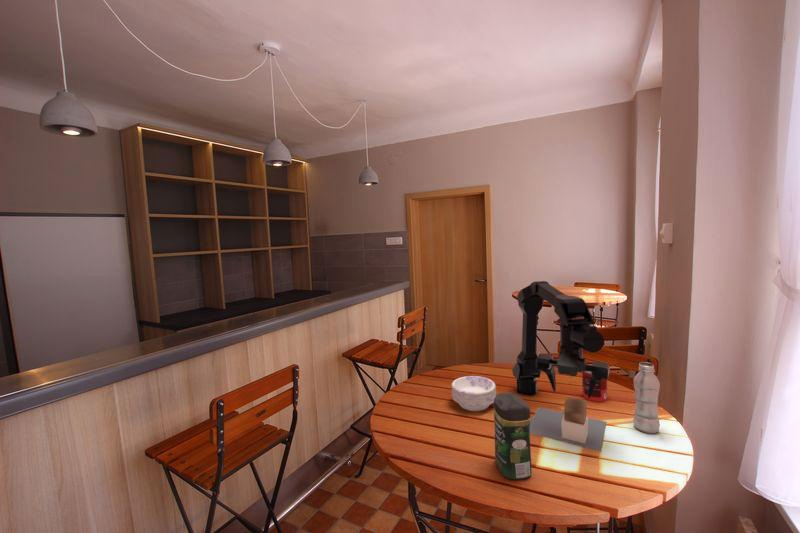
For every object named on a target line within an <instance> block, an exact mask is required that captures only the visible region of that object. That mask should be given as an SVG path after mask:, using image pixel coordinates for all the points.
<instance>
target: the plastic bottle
mask: <svg viewBox="0 0 800 533" xmlns="http://www.w3.org/2000/svg"><path fill="white" fill-rule="evenodd" d="M638 364H639V365H638V372H637V373H636V374H635V376H634V377H633V387H634V393H635V394H634V395H635V406H634V413H633V417H632V418H633V419H632V422H633V426H634V428H636V429H637V430H638V431H640V432H642V433H645V434H651V435H654V434H657V433H658V432H659V430H660V427H661V423H660V418H659V412H658V403H659V400H658V399H659V394H660V387H661V384H660V383H661V382H660V381H659V379H658V378H657V376H656V375H655V374H654V373H655V365H654V364H652V363H650V362H639V363H638Z"/></svg>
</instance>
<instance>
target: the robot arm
mask: <svg viewBox="0 0 800 533" xmlns="http://www.w3.org/2000/svg"><path fill="white" fill-rule="evenodd" d="M516 299H517V303H518V304H517V305H518V307H519V309H520V311H521V312H522V331H521V332H522V336H521V337H522V338H521V351H520V352H519V353H518V355H517V357H516V362H515V364H514V366H513V368H512V370H511V371H512V376H513V377H514V378H516V391H515V393H517V394H520V395H525V396H529V397H534V396H535V395H536V394H537V393H538V381H537V379H540V378H541V374H542V372H543V373H544V374H545V375H546V376H547V378H548V380H549V383H550V385H551V389H552V391H553V392H556V391H557V390H556V389H557V388H556V387H557V379H556V368H555V367H557V373H558V374H559V375H567V376H570V377H576V376H577V375H578V373H582V372H585V371H589V372H591V377H590V385H589V392H588V398H590V397H591V394H592V391H593V389H594V386H595V385H596V383H597V382H598V381H602V380H603V379H607V380H608V379H609V376H610V368H611V367H610V365H609V363H608V362H602V361H596V360H593V362H592V364H589V363H587V362H586V358H584V357H583V350H584V351H587V352H589V353H593V354H595V353H597V352H600V350H602V349H603V347H604V344H605V338H604V336H603V335H602V333H600V332H599V331H598V330H597V329H598V328H597V326H596V325H594V324H595V322H594V319H593V318H594V317H593V315H592V314H591V312H590V310H589V308H588V305H587V303H586V301H585V300H584V299H583V298H581V297H578V296H574V295H568V294H566V293H564V292H562V291H560V290H559V289H557V288H555V287H554V286H552V285H551V284H550V282H548V281H546V280H541V281H540V280H537V281H533V282H531V283H530V284H529V285H527V286H526V287H523V288H522V289H521V290H520V291H519V292H518V293H517V297H516ZM544 301H546V302H547V303H548V304H550V305H551V306H552V307H553V308H554V310H553V312H554V313H555V314H556V316H558V319H557V320H556V323H557V324H559V325H560V327H559V330H560V332H559V333H560V344H559V345H560V348H559V353H558V358H557V359H555V358H554V355H551V354H544V353H540V354H539V355H538V354H537V334H538V333H537V329H538V315H539V313H540V312H541V310H542V309H543V307H544V306H543V305H544Z"/></svg>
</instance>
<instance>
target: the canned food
mask: <svg viewBox="0 0 800 533" xmlns="http://www.w3.org/2000/svg"><path fill="white" fill-rule="evenodd" d="M581 375H582V376H581V377H582V380H581V381H582V397H583V399H585V400H586V401H588V402H589V401H590V402H594V403H604V402H607V400H608V379H603V380H602V381H598V382H597V383H596V385H595V386H594V389H593V391H592V394H591V397H590V398H588V392H589V385H590V377H591V372H589V371H585V372H581Z"/></svg>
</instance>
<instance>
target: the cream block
mask: <svg viewBox="0 0 800 533" xmlns="http://www.w3.org/2000/svg"><path fill="white" fill-rule="evenodd" d="M588 418H589V416H586V420H585V423H584V425H582V424H577V423H573V422H569V421H564V416H563V419H562V438H565V439H569V440H573V441H577V442H581V443H585V442H586V439H587V435H588Z"/></svg>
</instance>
